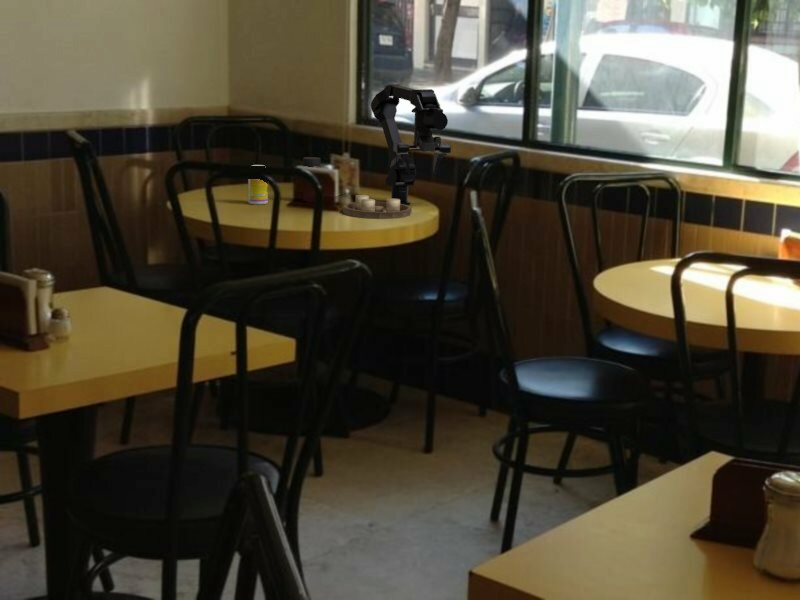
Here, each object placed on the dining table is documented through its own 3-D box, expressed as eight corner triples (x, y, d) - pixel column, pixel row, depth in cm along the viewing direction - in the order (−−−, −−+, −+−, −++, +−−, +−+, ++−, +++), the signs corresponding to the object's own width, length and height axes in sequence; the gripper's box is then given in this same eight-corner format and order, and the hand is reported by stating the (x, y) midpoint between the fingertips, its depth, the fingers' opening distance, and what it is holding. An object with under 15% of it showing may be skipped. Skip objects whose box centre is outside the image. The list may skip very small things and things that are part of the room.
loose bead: (353, 209, 426) (354, 194, 425) (366, 209, 427) (367, 194, 426) (356, 212, 422) (357, 197, 421) (370, 212, 423) (370, 196, 422)
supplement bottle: (270, 204, 436) (270, 166, 433) (251, 205, 434) (251, 167, 431) (264, 201, 442) (265, 164, 439) (245, 202, 440) (246, 164, 437)
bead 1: (359, 214, 418) (360, 198, 417) (372, 214, 419) (373, 198, 418) (362, 216, 414) (363, 201, 413) (376, 216, 415) (376, 200, 414)
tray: (337, 210, 429) (337, 201, 429) (400, 209, 435) (401, 201, 434) (352, 221, 409) (352, 212, 408) (418, 220, 414) (419, 212, 414)
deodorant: (300, 200, 447) (301, 157, 444) (316, 199, 450) (317, 157, 446) (305, 203, 442) (306, 159, 439) (321, 202, 444) (322, 159, 441)
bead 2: (384, 213, 420) (385, 198, 419) (397, 213, 421) (398, 198, 420) (388, 216, 416) (388, 200, 415) (401, 215, 417) (401, 200, 416)
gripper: (402, 129, 421) (400, 177, 425) (456, 129, 426) (454, 176, 430) (393, 126, 432) (392, 172, 435) (446, 126, 437) (444, 172, 440)
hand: (421, 173), depth 435 cm, fingers open, 9 cm apart
